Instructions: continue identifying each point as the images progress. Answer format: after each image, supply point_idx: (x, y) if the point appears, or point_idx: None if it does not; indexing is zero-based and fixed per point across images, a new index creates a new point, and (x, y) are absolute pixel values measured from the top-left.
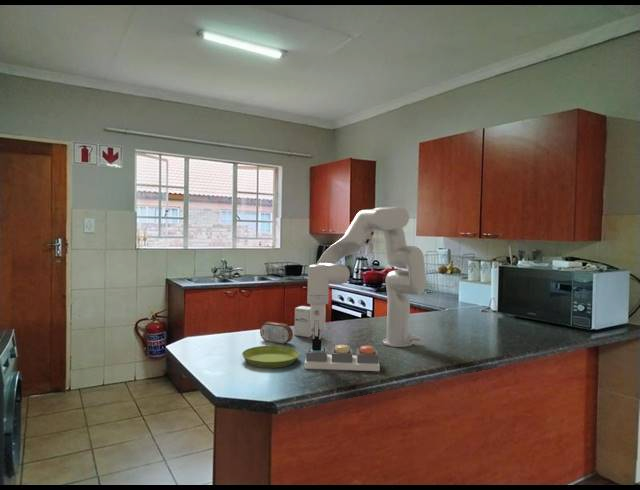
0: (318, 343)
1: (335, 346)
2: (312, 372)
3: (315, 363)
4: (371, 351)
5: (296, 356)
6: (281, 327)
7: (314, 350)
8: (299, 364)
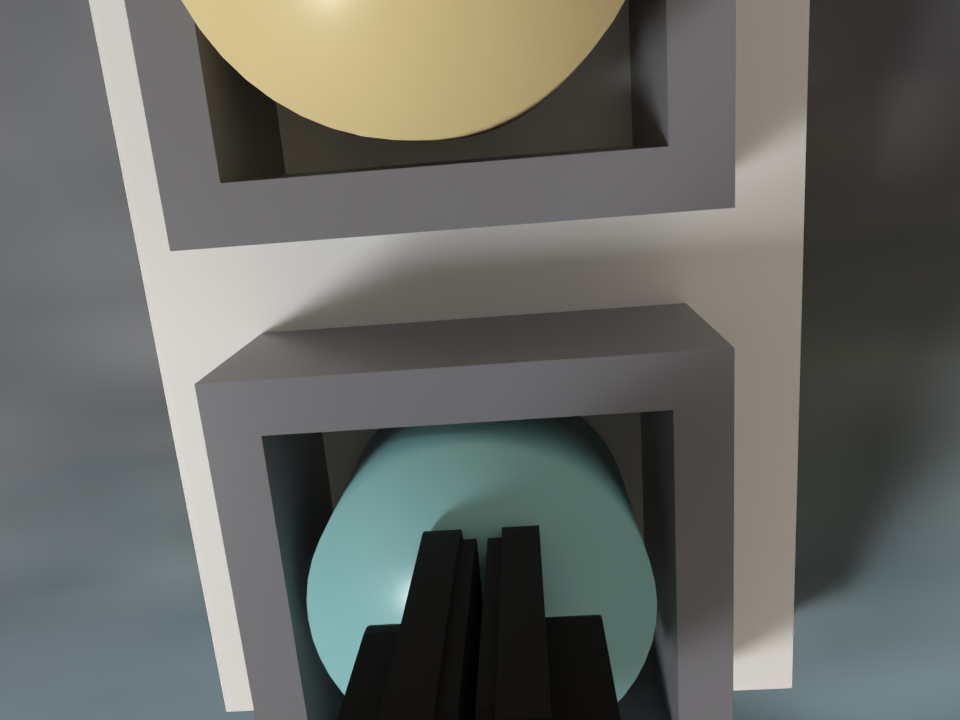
0: (614, 706)
1: (428, 129)
2: (951, 483)
3: (796, 501)
4: None
5: None
6: None
7: None
8: None
